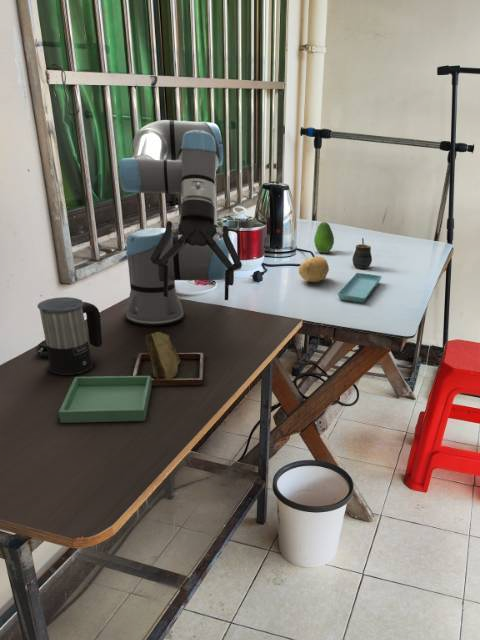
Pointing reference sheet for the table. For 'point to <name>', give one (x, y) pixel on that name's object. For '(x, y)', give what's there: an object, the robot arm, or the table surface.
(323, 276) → the potato
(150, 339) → the rock
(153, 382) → the wooden frame
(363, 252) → the mate gourd
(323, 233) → the avocado
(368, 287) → the rectangular tray
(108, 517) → the table surface
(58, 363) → the milk frother
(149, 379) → the green tray
